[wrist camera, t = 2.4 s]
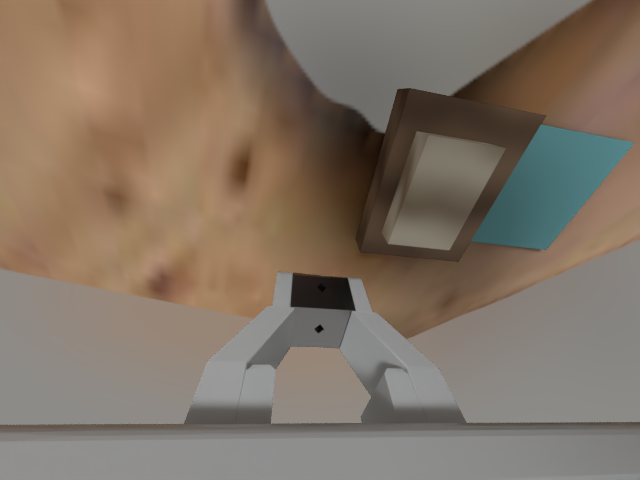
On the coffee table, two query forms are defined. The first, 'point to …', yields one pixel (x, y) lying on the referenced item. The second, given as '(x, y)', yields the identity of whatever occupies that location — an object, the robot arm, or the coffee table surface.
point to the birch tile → (438, 190)
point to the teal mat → (549, 187)
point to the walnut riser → (452, 121)
